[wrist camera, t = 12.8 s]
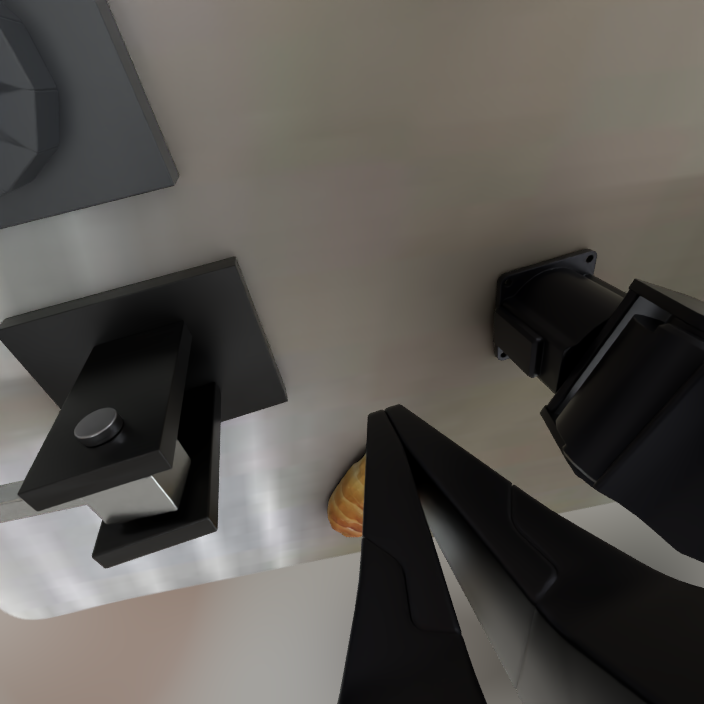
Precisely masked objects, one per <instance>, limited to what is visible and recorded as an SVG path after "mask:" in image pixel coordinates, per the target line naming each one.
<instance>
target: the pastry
mask: <svg viewBox="0 0 704 704" xmlns="http://www.w3.org/2000/svg"><path fill="white" fill-rule="evenodd" d="M365 464H366V453H365V455H364V457H363V458H362V459H361V460H360V461H359V462H357V463H354V464H353V466H352V467H351V468H350V469H349V470H348V471H347V473H346V475H345V476H344V477H343V478H342V479H341V482H340V483H339V485H337V487H336V489H335V490H334V492H333V493H332V496H331V498H330V499H329V503H328V509H327V512H328V520H329V521H330V524H331V527H332V528H333V529H334V530H336V531H338V532H340V533H342V535H344V536H346V537H360V536H362V527H363V506H364V485H365Z"/></svg>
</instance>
